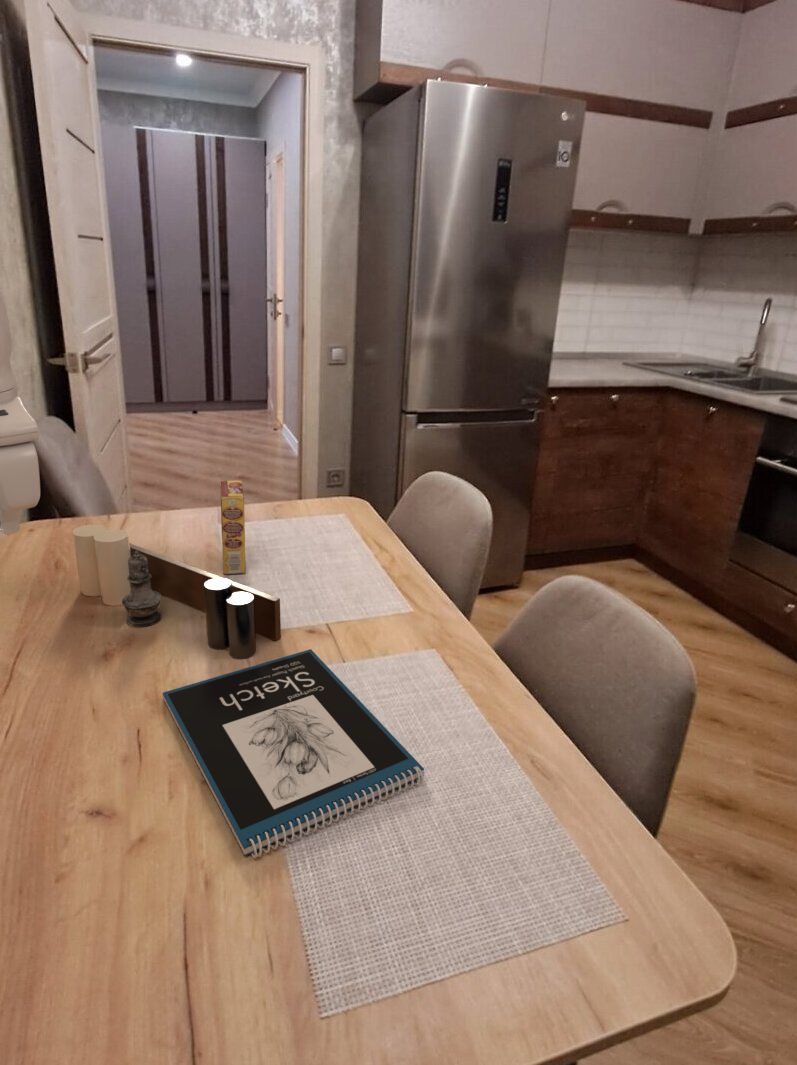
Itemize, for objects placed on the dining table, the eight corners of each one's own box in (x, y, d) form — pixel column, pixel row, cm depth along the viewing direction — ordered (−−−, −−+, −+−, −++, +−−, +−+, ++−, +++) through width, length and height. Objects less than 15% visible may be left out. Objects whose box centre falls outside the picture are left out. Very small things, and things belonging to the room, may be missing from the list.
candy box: (247, 574, 122) (244, 495, 116) (223, 575, 121) (218, 496, 115) (245, 553, 130) (242, 479, 124) (222, 555, 129) (218, 480, 123)
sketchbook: (310, 656, 99) (310, 644, 98) (428, 785, 76) (429, 770, 75) (162, 700, 88) (161, 686, 87) (248, 866, 65) (247, 850, 64)
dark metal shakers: (202, 644, 100) (197, 585, 96) (221, 632, 103) (217, 575, 100) (243, 662, 96) (240, 601, 93) (262, 649, 100) (259, 590, 96)
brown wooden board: (113, 575, 119) (108, 539, 117) (118, 572, 120) (114, 537, 118) (276, 641, 102) (274, 601, 99) (281, 638, 103) (280, 598, 100)
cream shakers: (74, 590, 113) (64, 528, 109) (101, 579, 118) (92, 519, 113) (116, 609, 108) (107, 544, 104) (142, 596, 113) (135, 534, 108)
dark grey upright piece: (132, 632, 102) (123, 561, 98) (119, 616, 106) (110, 547, 102) (169, 621, 106) (162, 552, 101) (155, 606, 110) (148, 539, 105)
